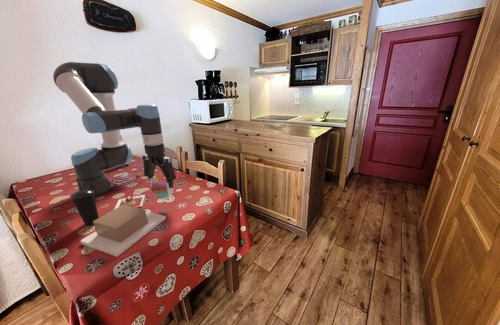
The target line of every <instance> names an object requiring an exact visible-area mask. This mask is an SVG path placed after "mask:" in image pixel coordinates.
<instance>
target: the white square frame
mask: <svg viewBox="0 0 500 325" xmlns="http://www.w3.org/2000/svg"><path fill="white" fill-rule="evenodd" d="M145 197H146V194H142V195H136V196H135V195H134V196H130V195H129V196H127V197H124V198H119V199H118V200H117V202H116V204H115V206H114V208H113V210H114V209H116V208H118V207H120V206H121V203H122V202H123V201H125V202H124V205H127V206H131V207H132V206H133V205H135V204H136V203H137V202H136V201H135V199H139V198H140V199H141V200H140V204H139V206H135V207H136V208H141V207H143V204H144V201H145Z"/></svg>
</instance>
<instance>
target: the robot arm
mask: <svg viewBox="0 0 500 325" xmlns="http://www.w3.org/2000/svg"><path fill="white" fill-rule="evenodd" d="M52 78H53V83H54V84H55V86H56V88H58V90H60V91H61V92H62V93H65V94H66V95H67V96H68V97H69V99H70V101H72V102H73V103H74V104H75V106H76V107H77V109H78V110H79V111H80V112H81V121H82V126H83V127H84V129H85V131H86V132H87V133H89V134H101V137H102V141H103V142H102V143H101V144H100V147H101V149H98V147H90V148H89V147H88V148H84V149H80V150H78V151H75V152H74V153H73V154H72V155H71V156H70V159H71V165H72V166H73V168H74V173H75V174H76V179H77V178H78V179H79V182H80V185H81V188H82V189H93V190H94V196H95V197H99V196H102V195H105V194H106V193H109V192H111V190H112V189H113V185H112V182H111V181H110V179H108V177H107V175H106V173H105V171H107V170H110V169H114V168H115V167H119V166H123V165H126V164H128V165H129V164H130V163H131V162H132V160H133V152H132V150H131V146H130V145H129V144H126V142H125V141H124V140H123V138H122V139H121V136H122V134H121V130H127V129H133V128H140V131H141V132H140V133H141V137H142V141H143V142H142V143H143V144H144V145H143V149H144V151H145V152H144V153H145V155H142V156H141V158H142V161H143V176H144V177H147V178H148V180H149V181H148V182H149V184H150V188H151V187H152V186H153V185H154V183H156V182H157V181H156V178H155V176H154V173H155V172H156V167H158V168H159V169H160V170H161V172H162V174H163V177H164V178H165V179H166V180H165V181H166V186H167V192H168V195H169V196H171V195H173V194H174V192H175V191H174V180H176V179H177V176H176V172H175V170H174V166H173V163H172V157H171V156H169V157H167V156H166V155H165V151H166V149H165V144H164V137H163V132H162V125H161V118H160V112H159V109H158V105H157V104H154V103H153V104H152V103H151V104H149V103H145V104H138V105H137V106H136V107H133V108H128V109H120V110H119V109H118V110H116V108H115V102H114V94H116V91H115V90H116V89H118V87H119V81H118V78H117V75H116V74H115V71H114V70H113V68H112V67H110V66H109V65H108V64H104V63H92V62H91V63H90V62H77V61H68V62H64V63H61V64H60V65H59V66H57V67H56V68H55V70H54V73H53V75H52ZM122 140H123V141H122ZM155 174H156V173H155ZM79 190H80V189H79V186H78V185H77V191H79ZM169 196H168V197H169Z"/></svg>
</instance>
